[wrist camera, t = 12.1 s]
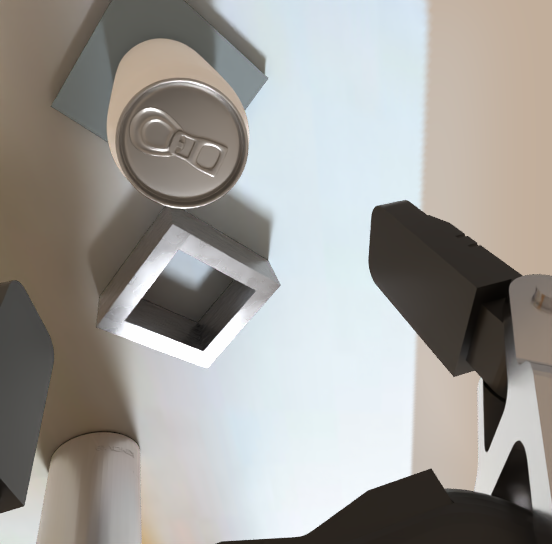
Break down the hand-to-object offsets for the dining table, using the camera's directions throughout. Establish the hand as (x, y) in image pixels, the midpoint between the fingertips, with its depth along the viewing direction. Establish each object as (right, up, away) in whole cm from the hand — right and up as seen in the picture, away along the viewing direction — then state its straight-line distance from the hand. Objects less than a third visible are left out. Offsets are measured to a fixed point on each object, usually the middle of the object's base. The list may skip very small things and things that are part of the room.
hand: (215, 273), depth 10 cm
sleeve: (-6, -1, +27) cm, 28 cm away
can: (-6, +12, +18) cm, 22 cm away
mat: (-6, +12, +18) cm, 23 cm away
